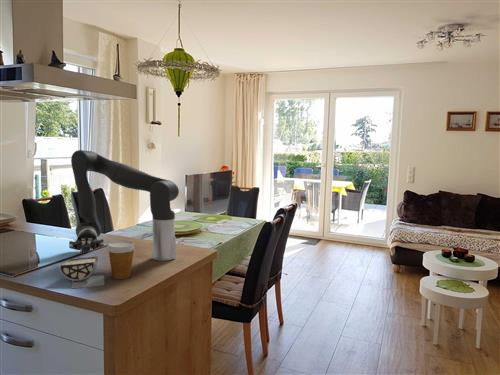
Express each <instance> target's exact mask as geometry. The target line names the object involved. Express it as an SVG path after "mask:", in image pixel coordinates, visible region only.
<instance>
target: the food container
mask: <svg viewBox="0 0 500 375" xmlns="http://www.w3.org/2000/svg"><path fill="white" fill-rule="evenodd" d="M98 259H99V256H96V255H95V256H86V257H77V258H76V257H75V258H70V259H69V260H66V261H65V262H64V263H62V264H58V268H59V271H60V273H61V275H62V276H63V277H65V278H66V279H68V280H69V281H72V282H73V281H79V280H84V279H86V278H88V277H89V276H93V274H94V273H95V270H96V269H97V265H98Z"/></svg>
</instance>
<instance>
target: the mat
mask: <svg viewBox="0 0 500 375" xmlns="http://www.w3.org/2000/svg"><path fill="white" fill-rule="evenodd" d="M103 286H105V275H104V274H103V275H101V274H100V275H91V276H89V277H88V278H86V279H84V280H79V281H73V280H72V284H71V289H74V290H75V289H83V288H92V287H93V288H94V287H103Z"/></svg>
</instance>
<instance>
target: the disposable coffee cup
mask: <svg viewBox="0 0 500 375" xmlns="http://www.w3.org/2000/svg"><path fill="white" fill-rule="evenodd" d="M135 248H136V246H135V243H134V242H133V241H128V240H120V241H119V240H118V241H112V242H110V243H109V244H108V246H107V252H108V256H109V262H110V263H109V264H110V270H111V276H112V278H113V279H114V280H115V279H116V280H120V279H121V280H122V279H127V278H130V277H131V273H132V265H133V258H134V257H133V256H134V250H135Z"/></svg>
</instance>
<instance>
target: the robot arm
mask: <svg viewBox="0 0 500 375" xmlns="http://www.w3.org/2000/svg"><path fill="white" fill-rule="evenodd" d="M70 161H71V168H72V169H71V170H72V174H73V176H74V182H75V186H76V192H77V200H78V214H79V217H81V218H83V219H85V218H86V219H90V220H91V221H92V222H81V223H78V224H77V225H76V226H75V235H76V238H77V239H76V240H74V241H72V240H70V241H69V242H68V243H69V244H68V247H69V249H71V250H76V251H82V252H83V253H88V252H90V251H91V250H96V249H98V248H102V247H104V245H105V244H104V242H105V241H104V240H105V239H98V237H100V236H101V234H102V227H101V224H100V222H99V220H98V215H97V208H96V207H97V206H96V204H97V202H96V197H95V194H94V192H93V189H92V187H91V186H90V182H89V179H88V172H95V173H98V174H101V175H104V176H105V177H107V178H108V179H109V180H110V181H111V182H113V183H114V184H117V185H119V186H121V187H124V188H127V189H131V190H136V191H144V192H149V203H150V204H149V206H150V213H151V215H152V227H151V228H152V238H151V239H152V242H151V243H152V253H151V254H152V256H151V257H152V260H154V261H158V262H159V261H161V262H164V261H170V260H175V259H176V254H177V252H176V248H177V247H176V243H177V242H176V235H175V233H176V232H175V230H176V228H175V223H176V221H175V219H176V217H175V216H176V214H175V211H174V210H172V208H171V202H173V201H174V200H175V199H177V198H178V196H179V192H180V189H179V187H178V185H177V184H176V183H175V182H173V181H172V180H170V179H165V178H161V177H157V176H154V175H151V174H149V173H146V172H145V171H142V170H139V169H137V168H135V167H133V166H130V165H128V164H124V163H121V162H118V161H115V160H111V159H109V158H106V157H105V156H102V155H101V154H99V153H97V152H94V151H91V150H83V149H82V150H81V149H79V150H78V149H77V150H75V151H74V152H73V153H72V155H71V159H70Z"/></svg>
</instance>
